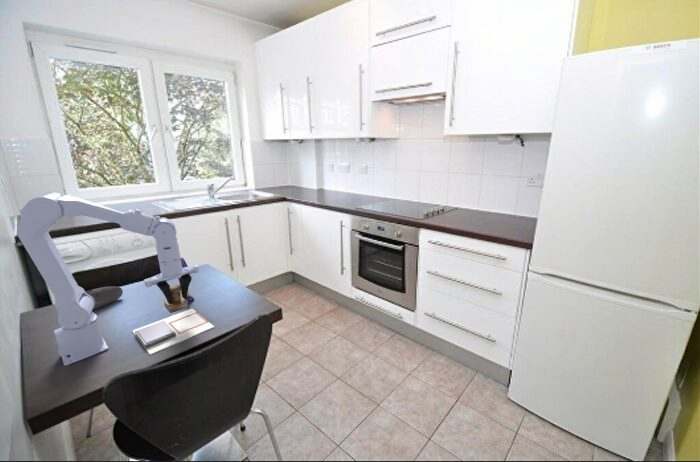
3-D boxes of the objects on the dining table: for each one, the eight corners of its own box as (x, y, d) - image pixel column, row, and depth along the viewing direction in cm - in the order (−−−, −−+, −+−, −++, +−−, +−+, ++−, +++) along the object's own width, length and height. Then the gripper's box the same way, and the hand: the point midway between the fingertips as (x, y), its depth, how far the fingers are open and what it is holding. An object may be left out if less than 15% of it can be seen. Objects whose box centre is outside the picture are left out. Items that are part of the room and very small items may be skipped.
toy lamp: (187, 305, 113) (180, 261, 109) (176, 303, 114) (168, 260, 110) (196, 298, 118) (189, 256, 113) (185, 297, 119) (178, 256, 114)
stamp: (170, 313, 96) (168, 293, 94) (164, 306, 99) (162, 286, 97) (187, 307, 99) (186, 288, 97) (181, 301, 102) (180, 282, 100)
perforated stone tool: (121, 296, 121) (117, 279, 119) (127, 299, 118) (123, 282, 116) (72, 313, 109) (66, 294, 107) (77, 317, 106) (72, 299, 104)
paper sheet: (150, 355, 87) (149, 353, 86) (132, 331, 98) (132, 330, 98) (214, 327, 99) (214, 326, 99) (192, 309, 110) (192, 308, 110)
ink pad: (145, 348, 89) (144, 344, 88) (135, 335, 95) (134, 330, 95) (176, 336, 94) (175, 332, 94) (164, 324, 101) (163, 320, 101)
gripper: (146, 269, 86) (155, 314, 90) (200, 255, 96) (206, 295, 100) (138, 263, 91) (147, 305, 95) (190, 250, 101) (197, 289, 105)
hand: (177, 300), depth 98 cm, fingers closed on stamp, 4 cm apart
